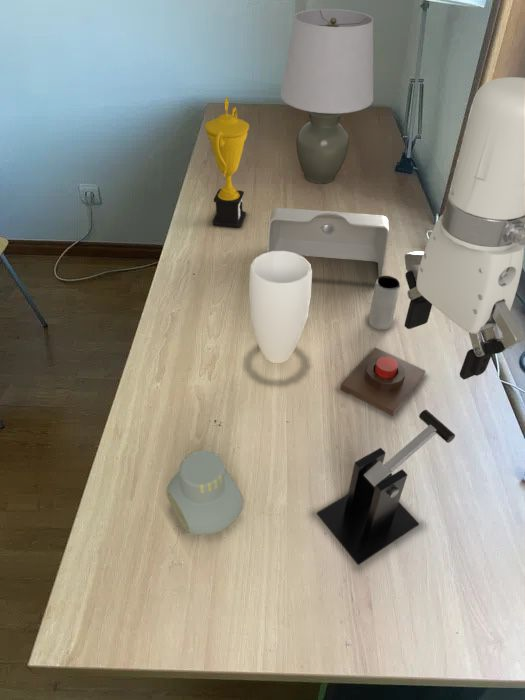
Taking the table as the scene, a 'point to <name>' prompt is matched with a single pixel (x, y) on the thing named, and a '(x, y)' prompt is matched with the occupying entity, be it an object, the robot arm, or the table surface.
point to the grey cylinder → (384, 302)
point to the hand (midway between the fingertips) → (442, 348)
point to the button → (386, 367)
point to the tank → (330, 234)
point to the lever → (409, 449)
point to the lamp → (327, 83)
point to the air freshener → (204, 494)
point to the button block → (382, 383)
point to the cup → (279, 302)
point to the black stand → (369, 512)
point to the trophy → (228, 165)
